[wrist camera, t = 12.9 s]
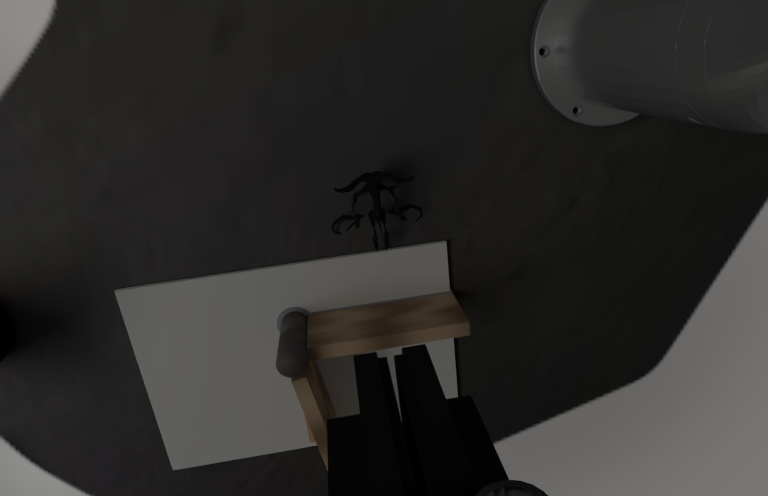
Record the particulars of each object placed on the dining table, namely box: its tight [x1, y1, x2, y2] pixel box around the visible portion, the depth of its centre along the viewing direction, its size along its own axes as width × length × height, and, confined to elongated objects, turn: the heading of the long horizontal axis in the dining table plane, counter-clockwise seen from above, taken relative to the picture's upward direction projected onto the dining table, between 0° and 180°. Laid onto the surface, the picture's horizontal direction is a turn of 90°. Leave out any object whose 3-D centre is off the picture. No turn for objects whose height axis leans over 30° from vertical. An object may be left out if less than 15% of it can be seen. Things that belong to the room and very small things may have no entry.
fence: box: [276, 293, 470, 378], centre depth 44 cm, size 15×2×7 cm, turn 97°
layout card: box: [114, 240, 458, 470], centre depth 48 cm, size 28×19×1 cm
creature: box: [332, 171, 422, 252], centre depth 42 cm, size 8×5×8 cm
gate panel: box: [291, 359, 338, 470], centre depth 46 cm, size 12×1×6 cm, turn 16°
